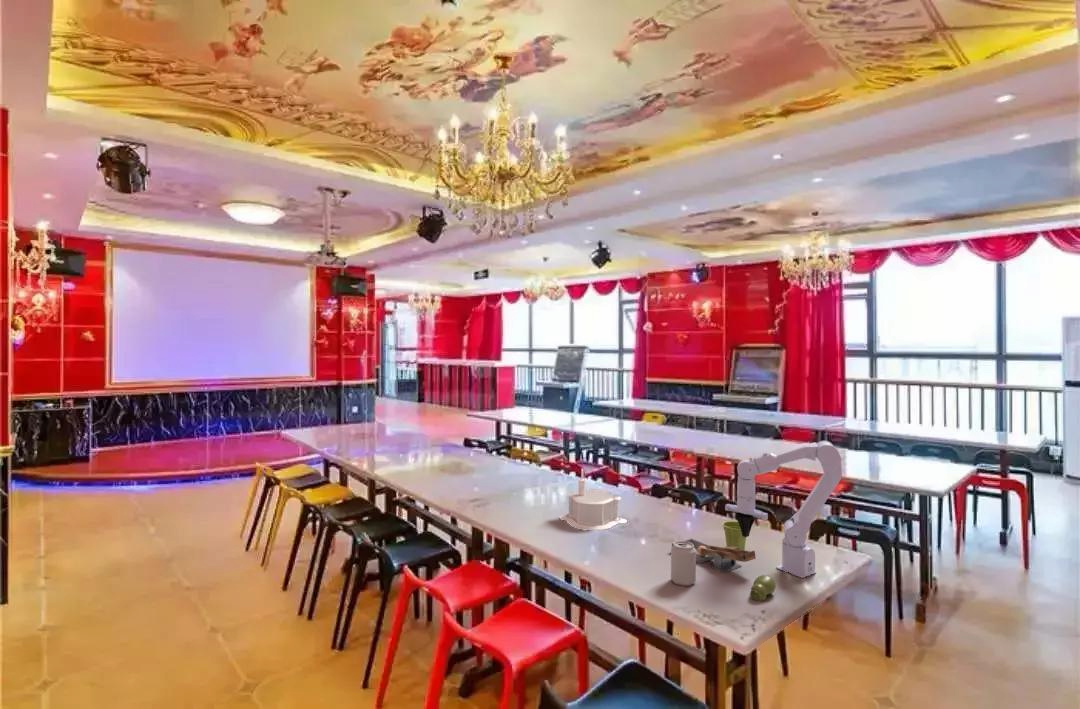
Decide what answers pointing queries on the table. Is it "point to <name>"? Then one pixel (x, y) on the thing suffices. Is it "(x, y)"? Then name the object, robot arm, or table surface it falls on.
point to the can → (683, 563)
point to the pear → (762, 587)
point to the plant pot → (734, 535)
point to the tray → (696, 545)
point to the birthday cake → (592, 508)
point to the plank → (730, 553)
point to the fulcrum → (723, 564)
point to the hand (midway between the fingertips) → (745, 536)
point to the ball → (700, 550)
